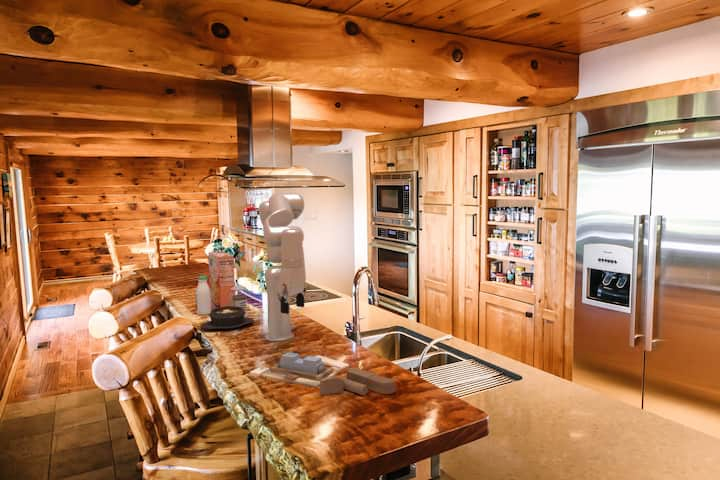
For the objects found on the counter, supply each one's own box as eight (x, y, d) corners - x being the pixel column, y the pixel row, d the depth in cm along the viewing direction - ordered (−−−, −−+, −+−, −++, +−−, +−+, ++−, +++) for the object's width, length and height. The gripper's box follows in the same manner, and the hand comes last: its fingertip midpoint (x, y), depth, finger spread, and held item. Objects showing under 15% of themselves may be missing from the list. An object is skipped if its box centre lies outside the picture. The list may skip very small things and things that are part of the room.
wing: (318, 358, 188) (318, 355, 188) (349, 367, 177) (349, 364, 177) (311, 360, 185) (310, 357, 185) (341, 370, 174) (341, 367, 174)
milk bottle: (214, 312, 259) (213, 275, 258) (205, 316, 252) (204, 277, 250) (202, 311, 262) (201, 274, 260) (193, 314, 255) (191, 277, 253)
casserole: (206, 335, 217) (205, 317, 216) (196, 326, 233) (195, 309, 232) (259, 327, 230) (259, 309, 229) (246, 319, 246) (246, 302, 245)
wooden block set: (353, 363, 165) (396, 376, 154) (353, 379, 166) (396, 393, 154) (317, 377, 152) (361, 392, 141) (317, 395, 153) (361, 411, 141)
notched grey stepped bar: (280, 370, 172) (280, 355, 171) (287, 366, 175) (286, 351, 175) (319, 377, 164) (319, 362, 164) (325, 374, 168) (325, 358, 167)
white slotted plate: (260, 369, 175) (260, 360, 175) (269, 371, 173) (269, 361, 173) (249, 375, 170) (249, 365, 170) (258, 377, 168) (258, 367, 168)
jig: (289, 362, 182) (289, 356, 182) (340, 371, 172) (340, 365, 172) (262, 376, 168) (262, 370, 168) (316, 387, 158) (316, 381, 158)
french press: (252, 313, 257) (251, 266, 255) (238, 318, 247) (237, 269, 245) (237, 311, 262) (236, 265, 259) (223, 316, 251) (221, 268, 249)
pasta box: (210, 304, 279) (208, 252, 276) (224, 302, 283) (222, 251, 280) (220, 312, 259) (218, 256, 256) (235, 310, 263) (233, 255, 260)
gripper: (296, 258, 183) (297, 303, 186) (268, 266, 168) (269, 314, 170) (313, 260, 180) (314, 305, 182) (286, 268, 165) (287, 317, 167)
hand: (292, 309), depth 176 cm, fingers open, 9 cm apart
